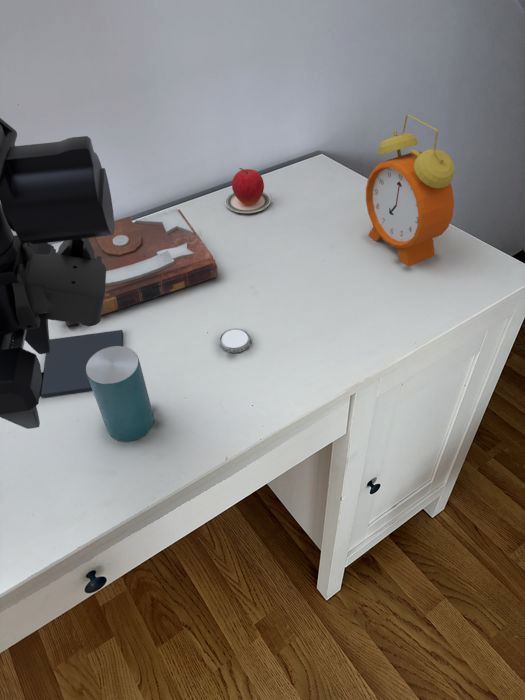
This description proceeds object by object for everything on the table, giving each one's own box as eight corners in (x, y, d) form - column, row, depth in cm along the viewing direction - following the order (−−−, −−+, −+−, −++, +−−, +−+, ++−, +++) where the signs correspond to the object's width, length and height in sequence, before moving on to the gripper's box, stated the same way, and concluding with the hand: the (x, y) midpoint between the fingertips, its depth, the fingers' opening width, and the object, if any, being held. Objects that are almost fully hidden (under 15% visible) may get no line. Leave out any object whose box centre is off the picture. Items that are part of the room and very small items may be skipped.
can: (106, 445, 65) (84, 387, 58) (107, 407, 69) (86, 349, 61) (155, 437, 65) (139, 379, 58) (153, 401, 69) (138, 342, 62)
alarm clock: (359, 231, 94) (372, 110, 80) (388, 221, 96) (406, 101, 82) (412, 273, 86) (437, 146, 71) (442, 260, 88) (473, 134, 73)
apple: (221, 195, 103) (218, 162, 99) (264, 189, 105) (263, 156, 100) (230, 218, 98) (227, 184, 93) (275, 211, 99) (274, 177, 94)
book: (69, 333, 79) (60, 308, 76) (43, 267, 88) (33, 242, 84) (218, 282, 86) (216, 257, 83) (180, 226, 95) (177, 201, 92)
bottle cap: (251, 351, 75) (250, 347, 74) (220, 353, 74) (220, 350, 74) (248, 330, 77) (248, 327, 77) (219, 332, 77) (219, 329, 77)
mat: (41, 397, 70) (39, 394, 70) (48, 342, 77) (47, 339, 77) (122, 386, 71) (121, 383, 71) (122, 332, 78) (122, 329, 78)
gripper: (78, 314, 35) (127, 457, 46) (91, 172, 48) (127, 310, 59) (-109, 338, 34) (-13, 479, 45) (-44, 187, 47) (18, 324, 58)
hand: (39, 387), depth 52 cm, fingers open, 9 cm apart
